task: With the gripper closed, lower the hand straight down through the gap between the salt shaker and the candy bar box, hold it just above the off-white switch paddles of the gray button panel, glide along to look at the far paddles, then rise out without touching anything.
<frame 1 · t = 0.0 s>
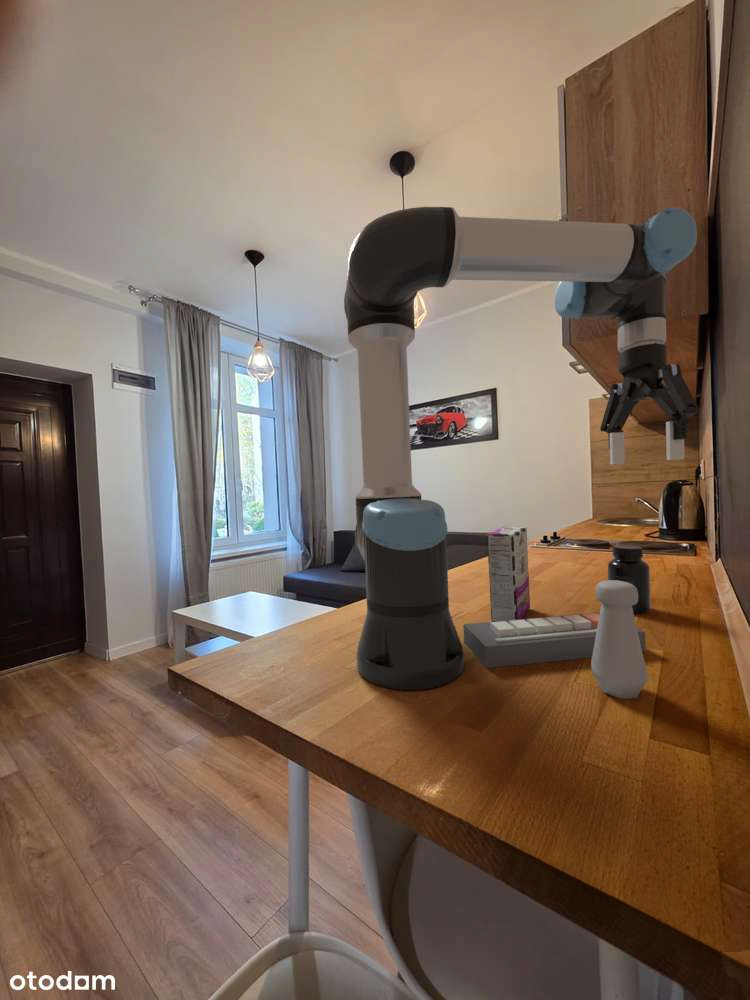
hand: (643, 462, 74), 28 cm above the kitchen counter, tool pointing down, fingers open, 13 cm apart
supplement bottle: (629, 609, 75), on the kitchen counter
salt shaker: (618, 691, 47), on the kitchen counter
candy bar box: (510, 616, 75), on the kitchen counter
gray button panel: (550, 647, 60), on the kitchen counter
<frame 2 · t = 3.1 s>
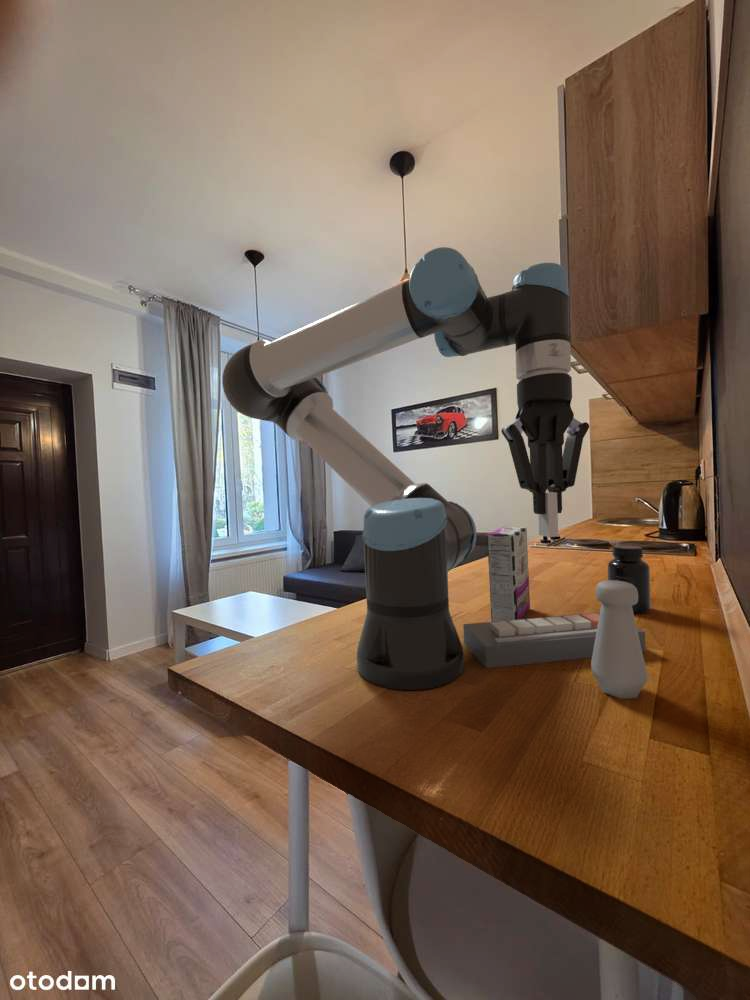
hand: (548, 535, 59), 17 cm above the kitchen counter, tool pointing down, fingers closed
nothing on the kitchen counter moved.
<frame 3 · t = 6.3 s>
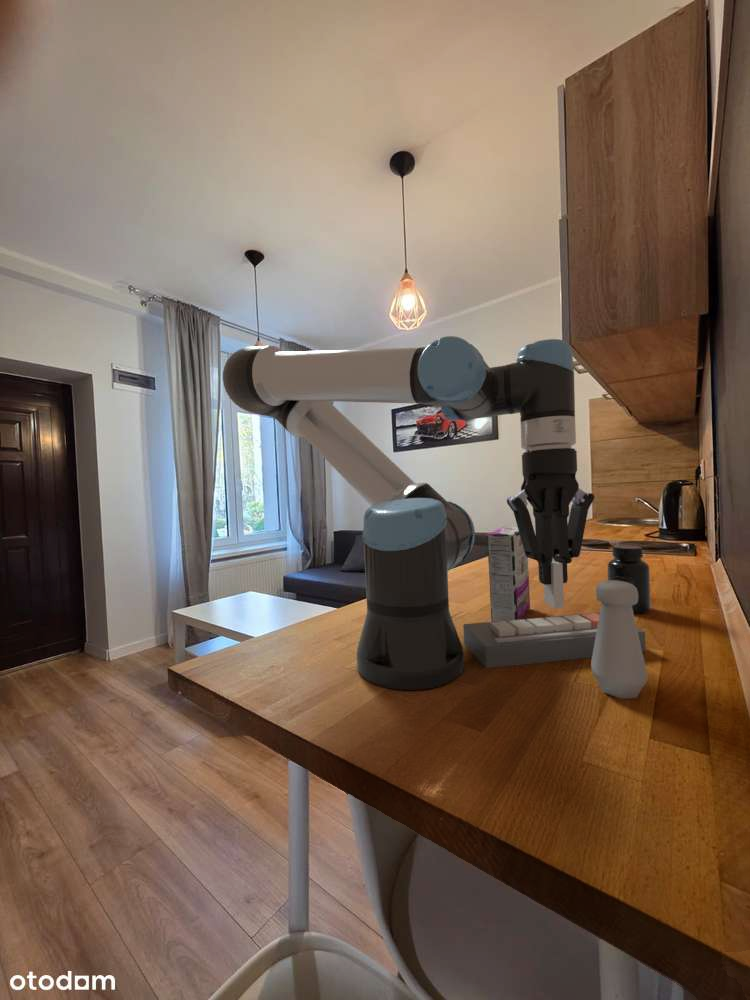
hand: (554, 604, 59), 7 cm above the kitchen counter, tool pointing down, fingers closed
nothing on the kitchen counter moved.
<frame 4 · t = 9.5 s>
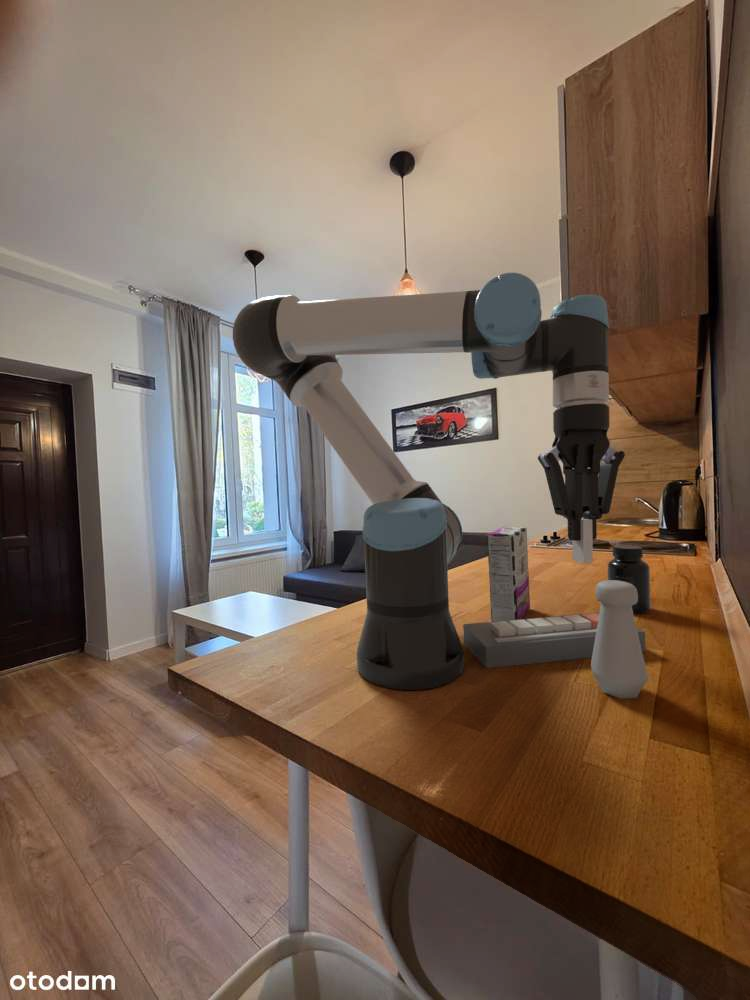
hand: (582, 561, 60), 13 cm above the kitchen counter, tool pointing down, fingers closed
nothing on the kitchen counter moved.
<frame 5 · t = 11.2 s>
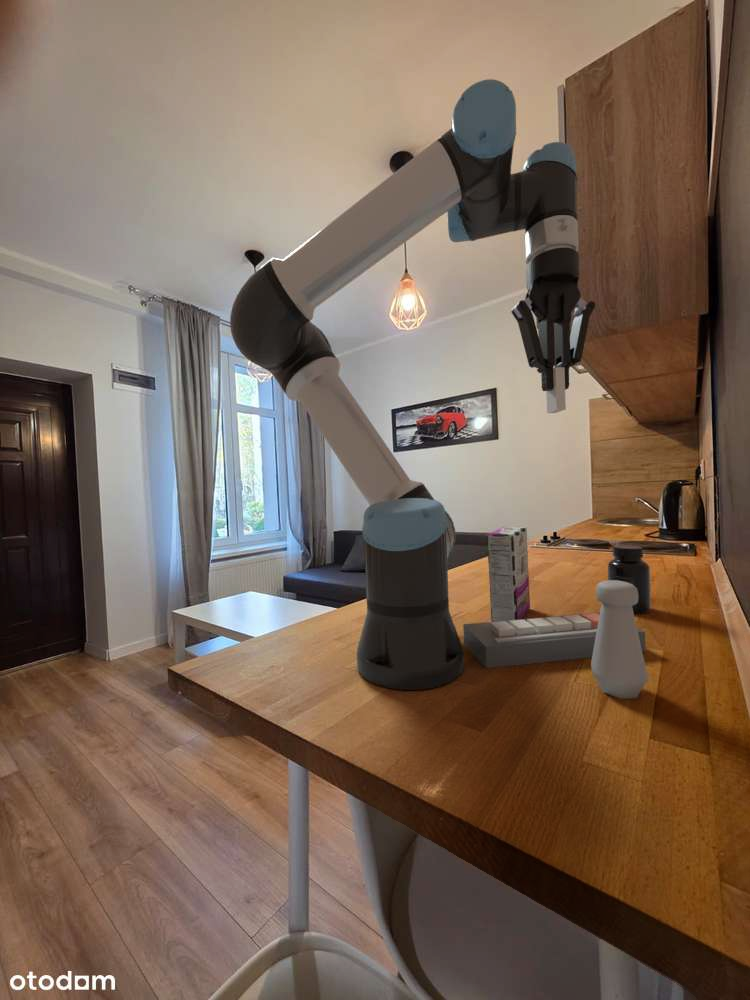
hand: (556, 411, 62), 36 cm above the kitchen counter, tool pointing down, fingers closed
nothing on the kitchen counter moved.
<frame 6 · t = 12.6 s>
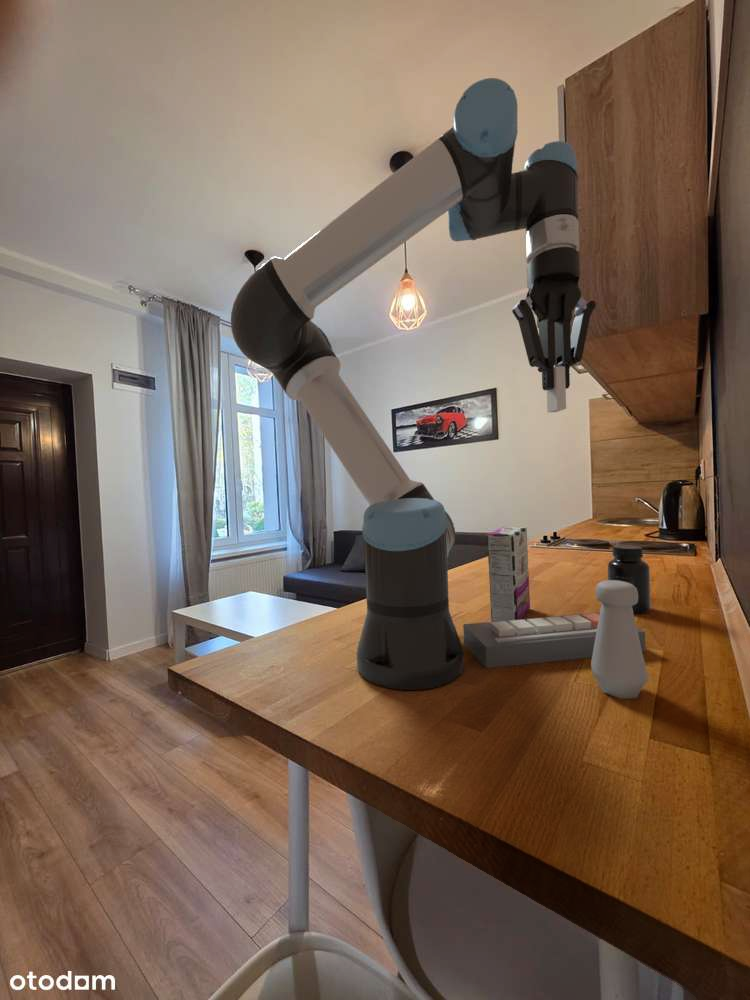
hand: (556, 410, 62), 36 cm above the kitchen counter, tool pointing down, fingers closed
nothing on the kitchen counter moved.
at the end: salt shaker moved 0.2 cm from its start; candy bar box moved 0.2 cm from its start; candy bar box tilted 0° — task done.
